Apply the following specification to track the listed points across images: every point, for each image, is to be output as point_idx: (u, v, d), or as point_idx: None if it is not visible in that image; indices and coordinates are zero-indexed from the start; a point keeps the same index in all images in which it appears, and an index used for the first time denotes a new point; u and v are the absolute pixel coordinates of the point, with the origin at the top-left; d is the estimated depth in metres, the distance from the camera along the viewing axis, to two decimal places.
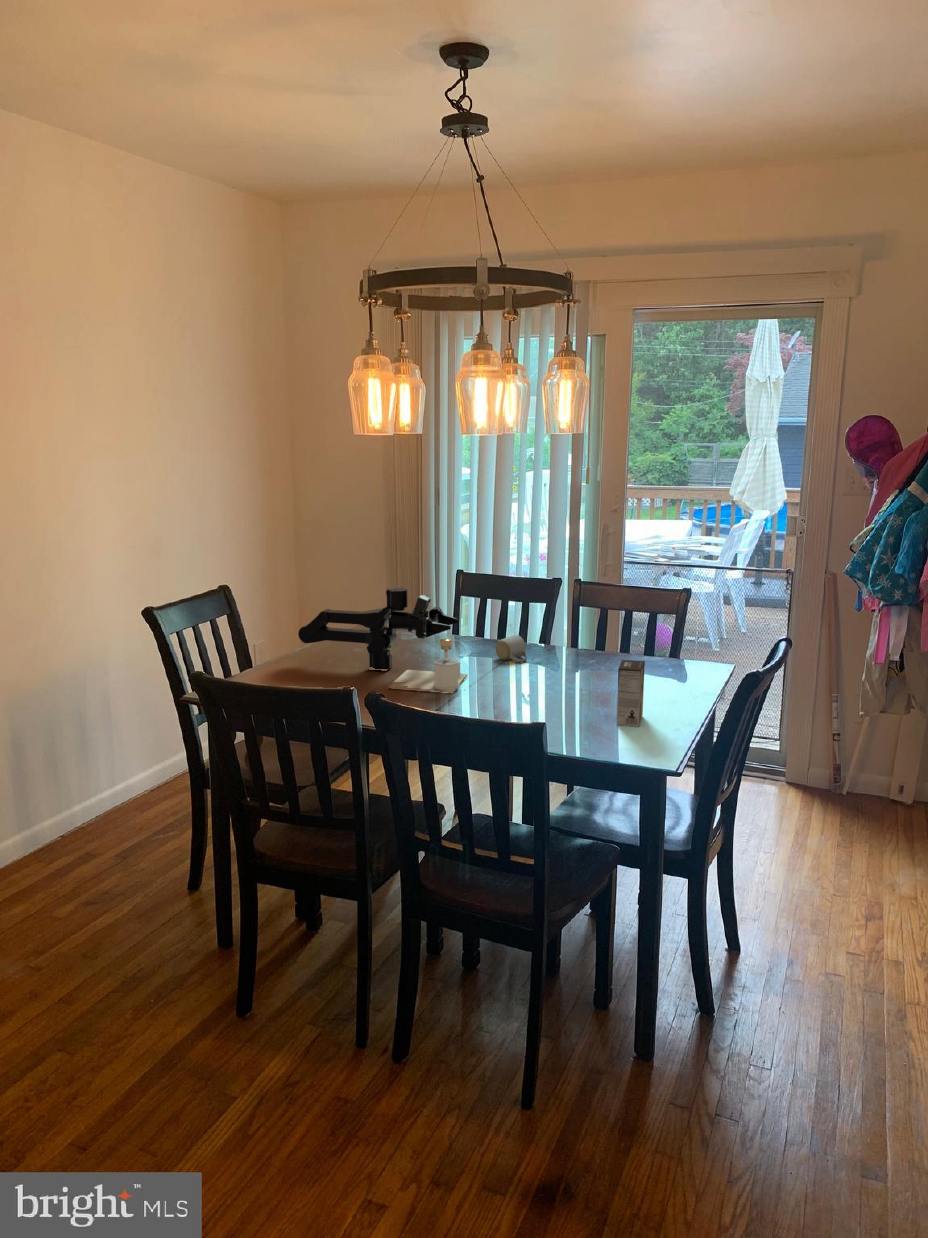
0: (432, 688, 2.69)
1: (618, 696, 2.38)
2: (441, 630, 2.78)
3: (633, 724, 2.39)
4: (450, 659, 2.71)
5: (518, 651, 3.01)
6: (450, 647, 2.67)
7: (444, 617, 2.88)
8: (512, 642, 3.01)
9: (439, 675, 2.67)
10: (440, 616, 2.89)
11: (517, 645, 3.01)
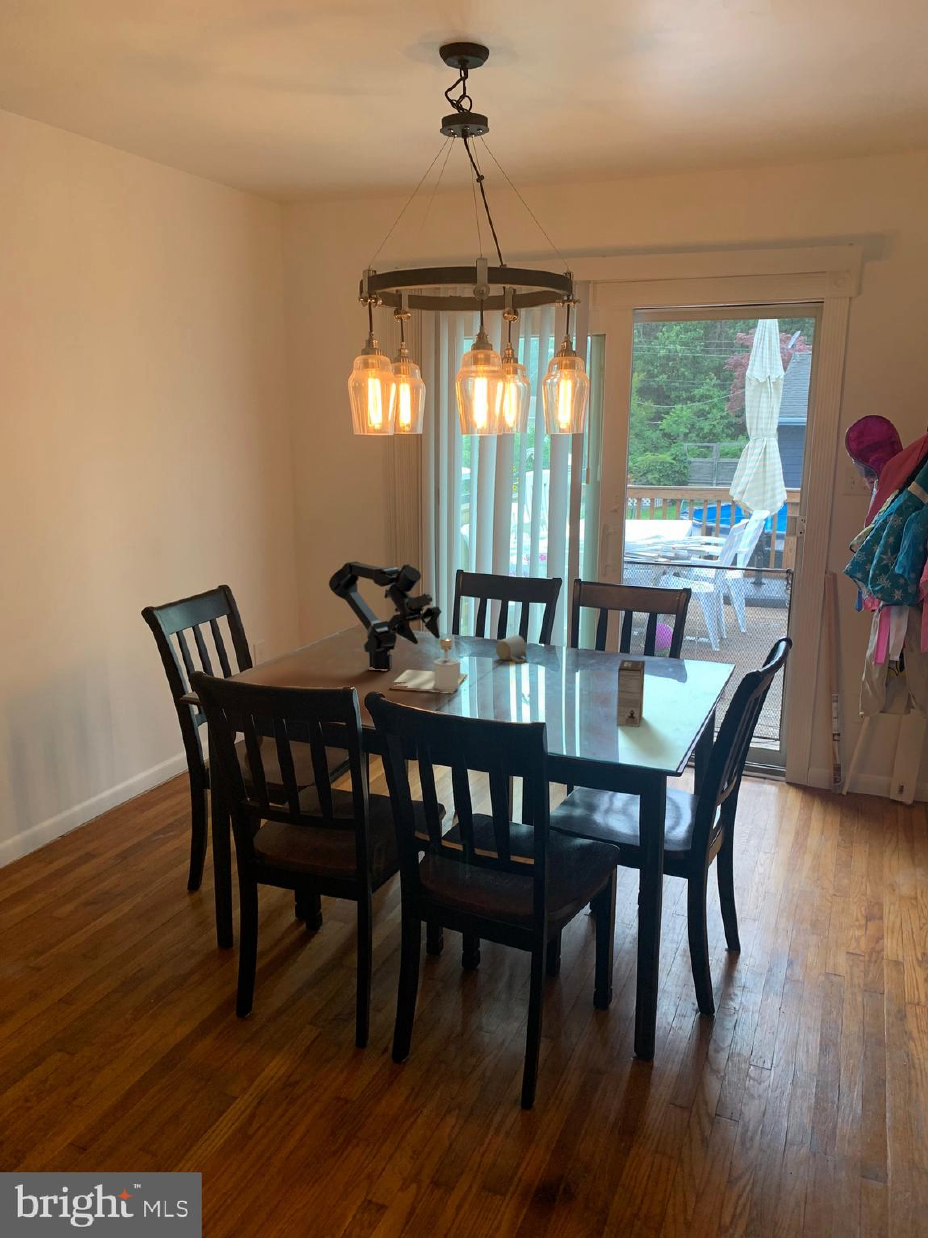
0: (432, 688, 2.69)
1: (618, 696, 2.38)
2: (409, 638, 2.71)
3: (633, 724, 2.39)
4: (450, 659, 2.71)
5: (518, 651, 3.01)
6: (450, 647, 2.67)
7: (432, 624, 2.78)
8: (513, 642, 3.00)
9: (439, 675, 2.67)
10: (431, 620, 2.78)
11: (517, 645, 3.01)
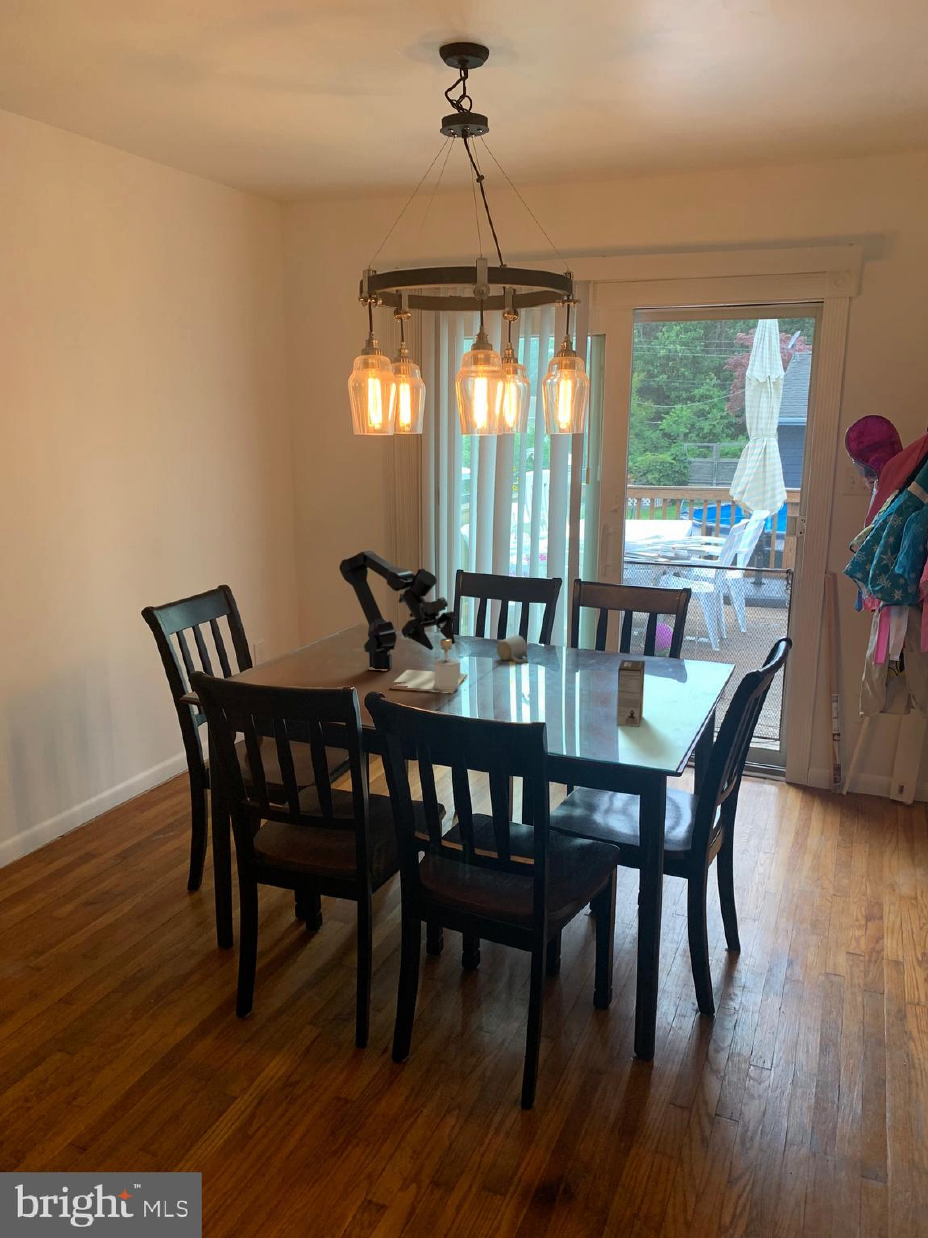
0: (432, 688, 2.69)
1: (618, 696, 2.38)
2: (424, 644, 2.66)
3: (633, 724, 2.39)
4: (450, 659, 2.71)
5: (519, 651, 3.01)
6: (450, 647, 2.67)
7: (448, 629, 2.73)
8: (514, 642, 3.00)
9: (439, 675, 2.67)
10: (446, 625, 2.74)
11: (518, 645, 3.01)
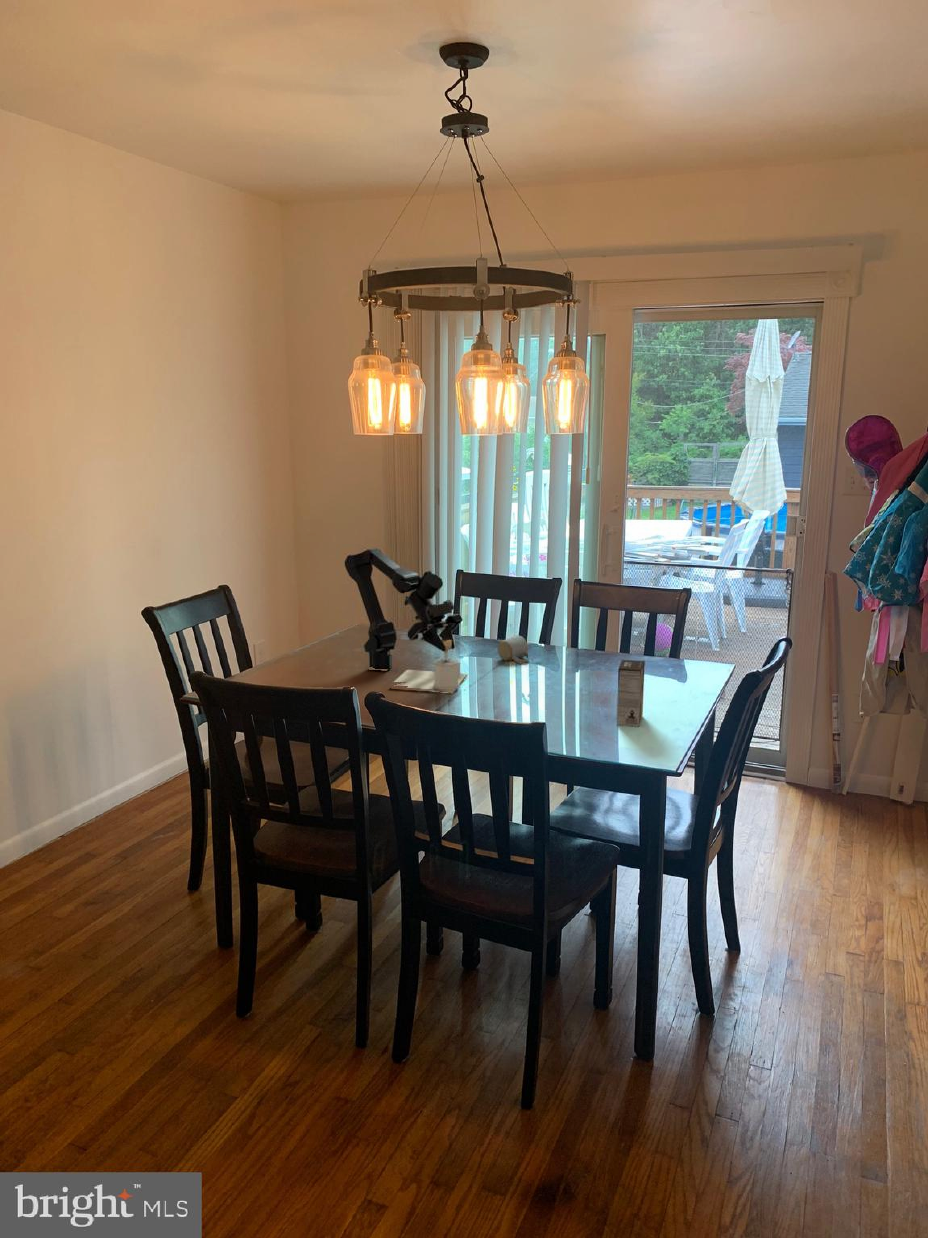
0: (432, 688, 2.69)
1: (618, 696, 2.38)
2: (436, 646, 2.67)
3: (633, 724, 2.39)
4: (450, 659, 2.71)
5: (520, 652, 3.01)
6: (450, 647, 2.67)
7: (447, 634, 2.70)
8: (515, 642, 3.00)
9: (439, 675, 2.67)
10: (446, 630, 2.70)
11: (519, 646, 3.00)
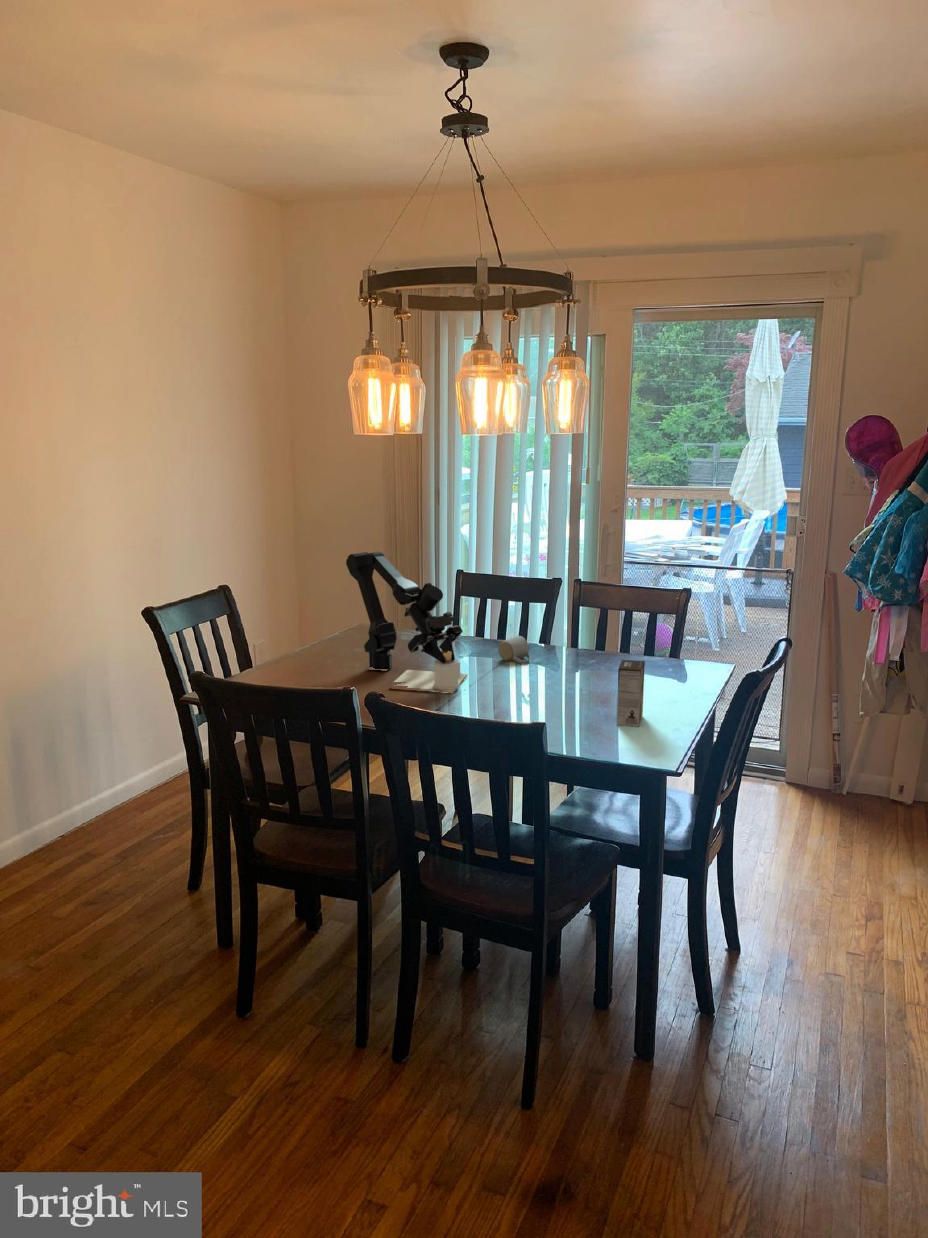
0: (432, 688, 2.69)
1: (618, 696, 2.38)
2: (436, 657, 2.68)
3: (633, 724, 2.39)
4: None
5: (521, 652, 3.00)
6: (450, 659, 2.68)
7: (447, 646, 2.71)
8: (515, 643, 3.00)
9: (439, 675, 2.67)
10: (446, 641, 2.71)
11: (520, 646, 3.00)
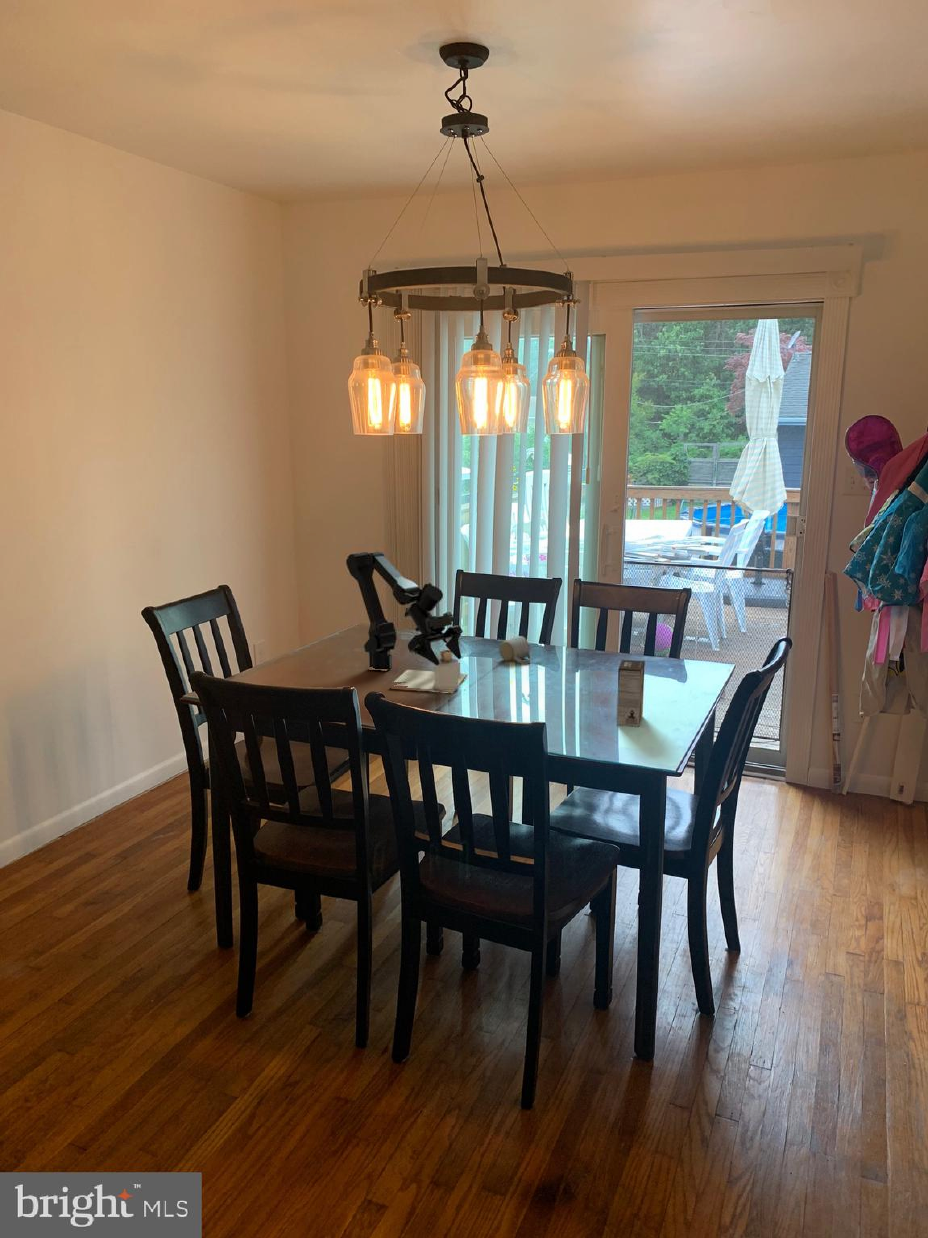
0: (432, 688, 2.69)
1: (618, 696, 2.38)
2: (430, 659, 2.66)
3: (633, 724, 2.39)
4: None
5: (522, 652, 3.00)
6: (450, 659, 2.68)
7: (454, 644, 2.72)
8: (516, 643, 2.99)
9: (439, 675, 2.67)
10: (452, 640, 2.73)
11: (521, 646, 3.00)
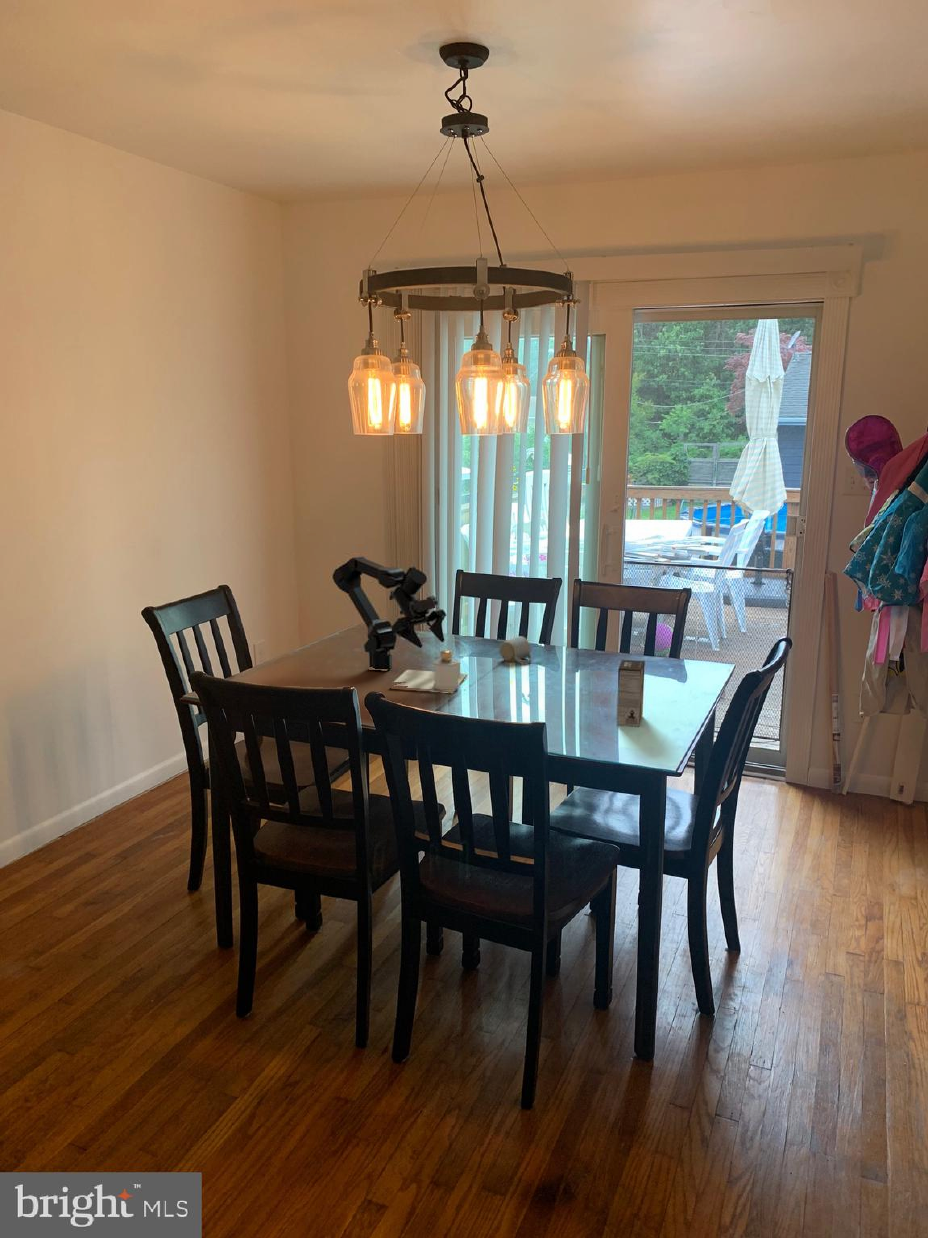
0: (432, 688, 2.69)
1: (618, 696, 2.38)
2: (413, 642, 2.70)
3: (633, 724, 2.39)
4: None
5: (523, 652, 3.00)
6: (450, 659, 2.68)
7: (437, 627, 2.76)
8: (517, 643, 2.99)
9: (439, 675, 2.67)
10: (436, 623, 2.77)
11: (522, 646, 2.99)
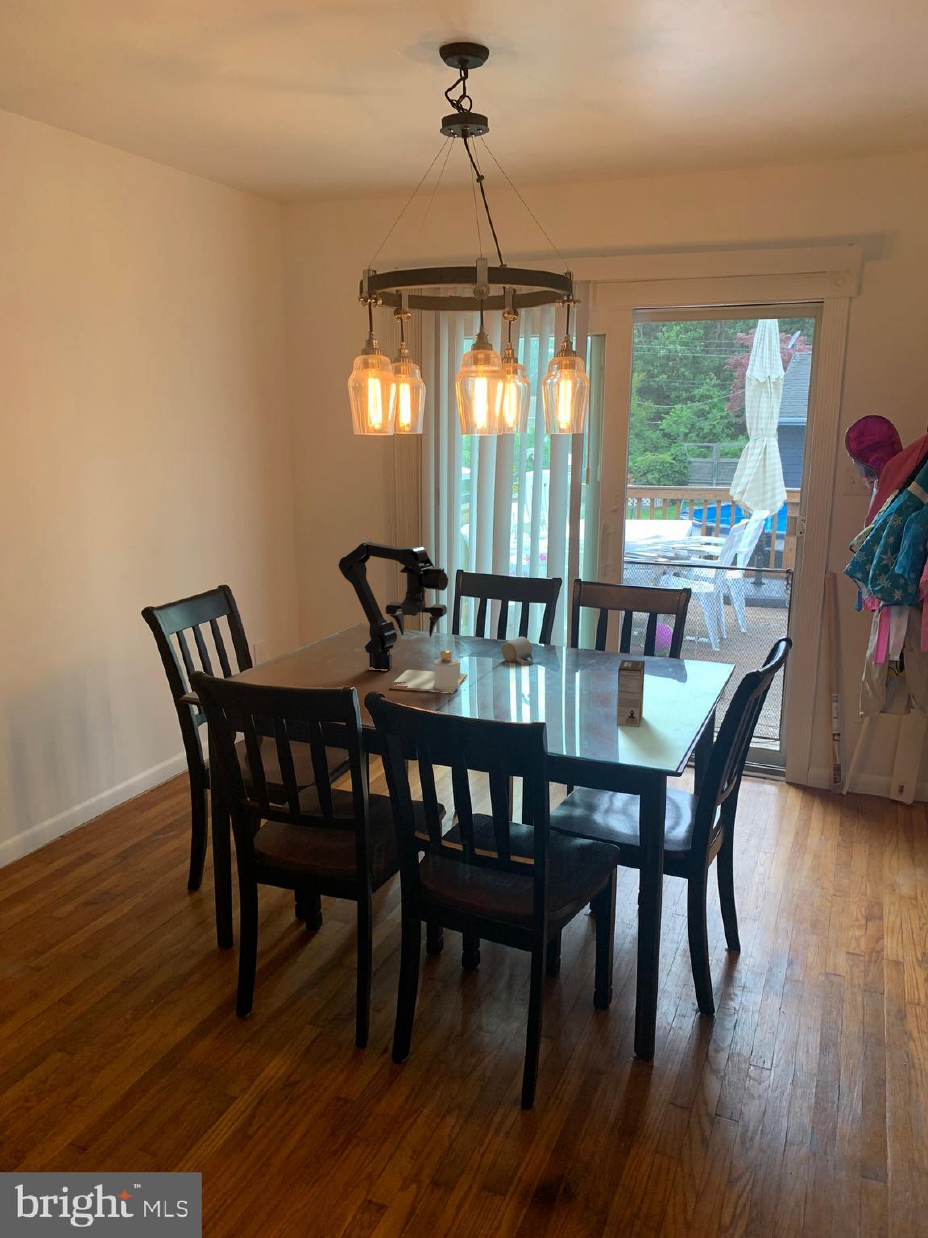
0: (432, 688, 2.69)
1: (618, 696, 2.38)
2: None
3: (633, 724, 2.39)
4: None
5: (524, 653, 2.99)
6: (450, 659, 2.68)
7: None
8: (519, 643, 2.98)
9: (439, 675, 2.67)
10: None
11: (523, 647, 2.99)
